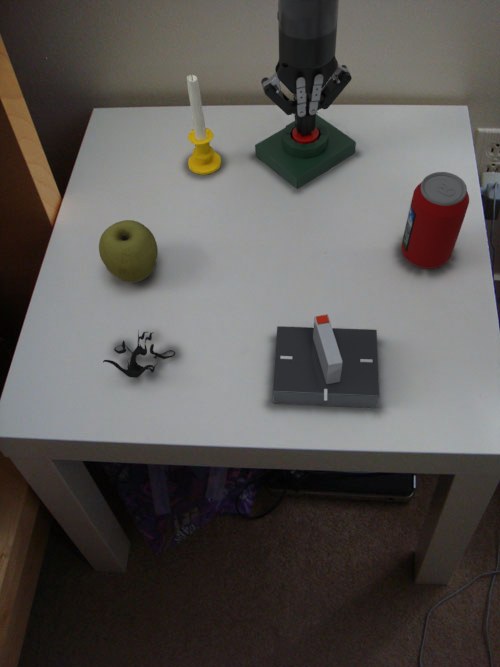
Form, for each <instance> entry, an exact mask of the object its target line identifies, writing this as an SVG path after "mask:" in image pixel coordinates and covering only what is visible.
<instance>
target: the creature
mask: <svg viewBox="0 0 500 667" xmlns="http://www.w3.org/2000/svg"><path fill="white" fill-rule="evenodd" d="M148 333H149V331H143V332H142V334H141V336H140V330H139V329H138V330H137V345H136V347H135V348H134V351H131V349H130V348H129V347H128V346H127V345H126V341H125V340H123V341H122V342H121V344H120V345H117V346H115V347H114V349H113V350H114V352H115V353H117V354H119V355H120V354H125V353H126V352H127V350H128V351H129V352H131V356H130V357H129V358H128V360H127V366H126V368H127V369H125V368H124V367H122V366H120V364H118V363H117V361H114V360H111V359H104V360H102V363H109V364H111V365H113V366H114V367H115V368H116V369H117V370H118V371H120V372H122V373H123V374H125V376H126V377H128V378H133V379H134V378H135V379H137V378H139V377H140V376H141V375H142V374H143V373H144V372H145V371H146V370H147V371H148V370H149V371H150V372H151V373H154V371H155V369H156V366H158V363H156V364H154V365H153V364H146V365H145V366H142V365H140V364H138V362H137V356H139V355H141V356H143V357H144V356H146V355H147V354H148V348H147V344H146V343H147V341H152V338H153V334H154V332H150V333H149V335H148V336H146V337H145V335H146V334H148ZM140 340H141V341H142V340H144V348H143V346H142V345H141V344H140V343H141V342H140ZM120 346H121V347H122V349H120V350H117V348H118V347H120ZM154 347H155V345H154V343H151V345H150V347H149V353H150V354H151V355H154V356H153V359H155V360H157V358H160V359H162V360H165V359H170V358H173V357H175V355H176V352H175V351H174V350H171V349H169V350H167V351H164V352H162V353H158V352H156V351H154ZM168 352H173V353H172V355H166V356H165V354H167V353H168Z"/></svg>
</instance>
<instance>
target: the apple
mask: <svg viewBox="0 0 500 667" xmlns="http://www.w3.org/2000/svg"><path fill="white" fill-rule="evenodd" d="M98 251H99V257H100V259H101V261H102V263H103V264H104V266H105V268H106V269H107V270H108V271H109V272H110V274H112V276H114V277H115V278H116V279H118V280H120V281H122V282H125V283H138V282H142V281H143V280H146V278H148V277H149V276H150V275H151V274H152V272H153V271H154V269H155V267H156V264H157V260H158V253H159V252H158V251H159V250H158V242H157V240H156V237H155V236H154V234H153V233H152V231H151V230H150V228H148V227H147V226H146V225H145V224H143V223H141V222H139V221H136V220H132V219H125V220H124V219H123V220H120V221H118V222H115V223H113V224H111V225H109V227H107V228H106V229H105V230H104V231H103V232H102V234H101V236H100V238H99V241H98Z"/></svg>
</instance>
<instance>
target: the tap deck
mask: <svg viewBox="0 0 500 667" xmlns="http://www.w3.org/2000/svg"><path fill="white" fill-rule="evenodd" d="M313 330H314V327H311V326H310V327H309V326H308V327H307V326H279V325H278V326H277V327H276V336H275V340H276V341H275V352H274V353H275V354H274V366H273V367H274V368H273V382H272V401H273V404H282V405H283V404H285V405H304V406H305V405H308V406H329V407H349V408H371V409H376V408H377V406H378V402H379V399H380V378H379V376H380V375H379V356H378V355H379V352H378V330H377V329H370V328H369V329H368V328H339V327H338V328H337V327H332V330H333V333H334V336H335V339H336V342H337V345H338V349H339V352H340V355H341V358H342V361H343V363H342V370H341V377H340V382H337V383H331V384H326V381H325V378H324V374H323V371H322V367H321V364H320V360H319V357H318V353H317V350H316V347H315V343H314V340H313Z"/></svg>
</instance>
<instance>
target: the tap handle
mask: <svg viewBox="0 0 500 667" xmlns="http://www.w3.org/2000/svg"><path fill="white" fill-rule="evenodd" d="M313 328H314V330H313V340H314V343H315V347H316V350H317V353H318V357H319V360H320V364H321V367H322V371H323V374H324V378H325V381H326V384H331V383H337V382H340V377H341V370H342V363H343V361H342V358H341V355H340V352H339V349H338V345H337V342H336V339H335V336H334V333H333V330H332V328H333V326H332V323H331V319H330V317H329V315H328V314H322V315H316V316H314V317H313Z"/></svg>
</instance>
